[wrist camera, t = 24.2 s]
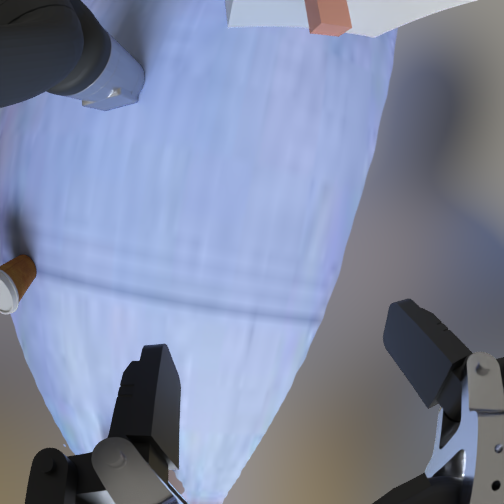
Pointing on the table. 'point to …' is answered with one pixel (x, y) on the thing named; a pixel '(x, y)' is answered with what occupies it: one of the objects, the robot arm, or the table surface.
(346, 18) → the rod
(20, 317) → the table surface
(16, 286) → the disposable coffee cup
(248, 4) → the riser
